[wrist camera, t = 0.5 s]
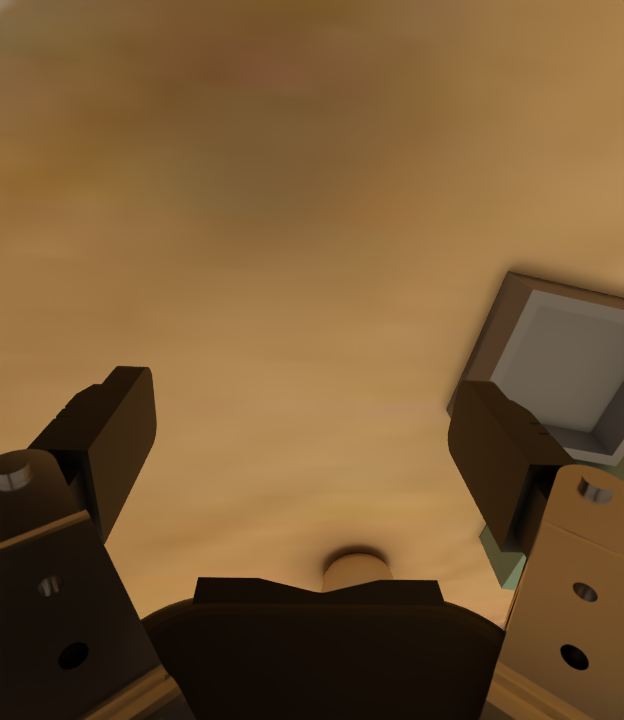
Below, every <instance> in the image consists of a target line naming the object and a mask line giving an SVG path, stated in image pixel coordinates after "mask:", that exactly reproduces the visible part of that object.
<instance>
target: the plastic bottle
mask: <svg viewBox="0 0 624 720" xmlns="http://www.w3.org/2000/svg"><path fill="white" fill-rule="evenodd" d="M376 580H394V579H393V576H392V574H391V571H390V569H389V568H388V566H387V565H386V564H385V563H383V562H382V561H381V560H380V559H379V558H377V557H375V556H373V555H369V554H363V553H356V554H349V555H345V556H343V557H340V558H339V559H337V560H335V561H334V562H333V563H332V564H331V565H330V567H329V568H328V569H327V571H326V572H325V574H324V577H323V584H322V591H321V593H323V592H329V591H333V590H337V589H342V588H346V587H350V586H355V585H359V584H363V583H368V582H372V581H376Z"/></svg>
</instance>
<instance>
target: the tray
mask: <svg viewBox="0 0 624 720" xmlns="http://www.w3.org/2000/svg"><path fill="white" fill-rule="evenodd" d="M463 380H474V381H492V382H494V383H495V384H496V385H497V386H498V387H499V389H500V390H501V391H502V392H503V393H504V394H505V396H506V397H507V398H508V399H509V400H513V401H514V402H516V403H518V404H519V405H521V406H523V407H524V408H526V409H527V410H529V411H530V412H531V413H532V414H533V415H534V416H535V417H536V418H537V420H538V421H539V422H540V423H541V425H543V426H544V427H545V428H546V429H547V431H548V432H549V433H550V436H553V437H554V438H555V439H556V441H557V442H558V443H559V444H560V445H561V446H562V447H563V448H564V449H565V450H566V452H567V453H568V454H569V455H570V456H571V457H572V458H573V459H577V460H583V461H589V462H595V463H600V464H606V465H612V466H617V464H618V463H619V462H620V460H621V459H622V457H623V456H624V298H620V297H616V296H612V295H607V294H603V293H599V292H594V291H590V290H586V289H581V288H577V287H573V286H568V285H564V284H560V283H555V282H551V281H547V280H542V279H538V278H534V277H529V276H525V275H521V274H516V273H512V272H508V273H507V275H506V277H505V280H504V282H503V284H502V286H501V289H500V291H499V293H498V295H497V298H496V300H495V302H494V304H493V307H492V309H491V311H490V313H489V316H488V318H487V320H486V322H485V325H484V327H483V329H482V331H481V334H480V336H479V338H478V340H477V343H476V345H475V347H474V349H473V352H472V354H471V356H470V358H469V361H468V363H467V365H466V367H465V370H464V372H463V374H462V376H461V379H460V381H459V383H458V385H457V388H456V390H455V392H454V394H453V397H452V399H451V401H450V403H449V406H448V408H447V412H448V414H449V416H450V418H451V417H452V413H453V408H454V404H455V399H456V395H457V390H458V387H459V384H460V383H461V382H462V381H463Z"/></svg>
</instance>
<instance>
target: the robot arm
mask: <svg viewBox="0 0 624 720" xmlns="http://www.w3.org/2000/svg"><path fill="white" fill-rule="evenodd" d="M156 426H157V421H156V410H155V400H154V390H153V380H152V373H151V370H150V368H149V367H132V366H117V367H116V368H115V369H114V370H113V371H112V372H111V373H110V375H109V376H108V377H107V378H106V379H105V381H104V382H103V383H102V384H93V385H92V386H90V387H88V388H86V389H84V390H83V391H81V392H79V393H77V394H76V395H75V396H74V397H73V398H72V399H71V400H70V401H69V403H68V404H67V405H66V406H65V409H62V410H61V411H60V412H59V414H58V415H57V416H56V419H53V420H52V421H51V422H50V424H49V425H48V426H47V427H46V428H45V429H44V430H43V431H42V432H41V433H40V435H39V436H38V437H37V438H36V439H35V440H34V441H33V442H32V443H31V444H30V446H29V447H28V448H27V449H23V450H16V451H11V452H7V453H4V454H1V455H0V720H624V482H623V481H621V480H620V479H618V478H617V477H615V476H613V475H611V474H609V473H607V472H605V471H602V470H600V469H597V468H594V467H590V466H585V465H578V464H577V463H576V461H575V460H574V459H573V458H572V457H571V456H570V455H569V454H568V453H567V452H566V450H565V449H564V448H563V447H562V446H561V445H560V444H559V443H558V442H557V441H556V439H555V438H554V437H553V436H550V433H549V432H548V431H547V429H546V428H545V427H544V426H543V425H541V423H540V422H539V421H538V420H537V418H536V417H535V416H534V415H533V414H532V413H531V412H530V411H529V410H527V409H526V408H524V407H523V406H521V405H519V404H518V403H516V402H514V401H513V400H509V399H508V398H507V397H506V396H505V394H504V393H503V392H502V391H501V390H500V389H499V387H498V386H497V385H496V384H495V383H494V382H492V381H474V380H463V381H462V382H461V383H460V384H459V387H458V390H457V395H456V399H455V404H454V408H453V413H452V417H451V421H450V426H449V431H448V446H449V451H450V454H451V456H452V458H453V460H454V462H455V464H456V466H457V468H458V470H459V472H460V473H461V475H462V477H463V479H464V481H465V483H466V485H467V487H468V489H469V491H470V493H471V495H472V497H473V499H474V501H475V503H476V505H477V506H478V508H479V510H480V512H481V514H482V516H483V518H484V520H485V522H486V524H487V526H488V528H489V530H490V532H491V534H492V536H493V538H494V539H495V541H496V543H497V545H498V547H499V549H500V551H501V552H516V553H524V555H525V557H526V560H525V563H524V566H523V569H522V571H521V574H520V577H519V580H518V583H517V586H516V589H515V592H514V595H513V598H512V601H511V604H510V607H509V610H508V613H507V616H506V619H505V622H504V625H503V629H501V628H500V627H498V626H497V625H496V624H494V623H493V622H491V621H489V620H487V619H486V618H484V617H482V616H481V615H479V614H477V613H475V612H472V611H470V610H468V609H466V608H464V607H461V606H458V605H455V604H452V603H449V602H445V601H444V599H443V596H442V593H441V590H440V587H439V584H438V581H437V580H376V581H372V582H368V583H363V584H359V585H355V586H350V587H346V588H342V589H337V590H333V591H329V592H323V593H318V592H312V591H308V590H304V589H300V588H296V587H292V586H288V585H284V584H280V583H276V582H272V581H268V580H264V579H260V578H215V577H198V581H197V585H196V589H195V594H194V598H191V599H187V600H183V601H180V602H177V603H174V604H171V605H168V606H166V607H164V608H162V609H160V610H158V611H155V612H153V613H152V614H150V615H148V616H146V617H145V618H143V619H141V620H140V618H139V616H138V614H137V612H136V610H135V608H134V606H133V604H132V602H131V600H130V598H129V595H128V593H127V591H126V589H125V587H124V585H123V583H122V581H121V579H120V577H119V575H118V573H117V571H116V569H115V567H114V565H113V562H112V560H111V558H110V556H109V554H108V552H107V550H106V548H105V546H104V544H105V542H106V540H107V538H108V536H109V534H110V532H111V530H112V528H113V526H114V524H115V522H116V520H117V518H118V516H119V514H120V512H121V510H122V507H123V505H124V503H125V501H126V499H127V497H128V495H129V493H130V491H131V489H132V487H133V485H134V483H135V481H136V479H137V477H138V475H139V473H140V470H141V468H142V466H143V464H144V462H145V460H146V458H147V456H148V454H149V452H150V450H151V448H152V446H153V443H154V440H155V436H156Z"/></svg>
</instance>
